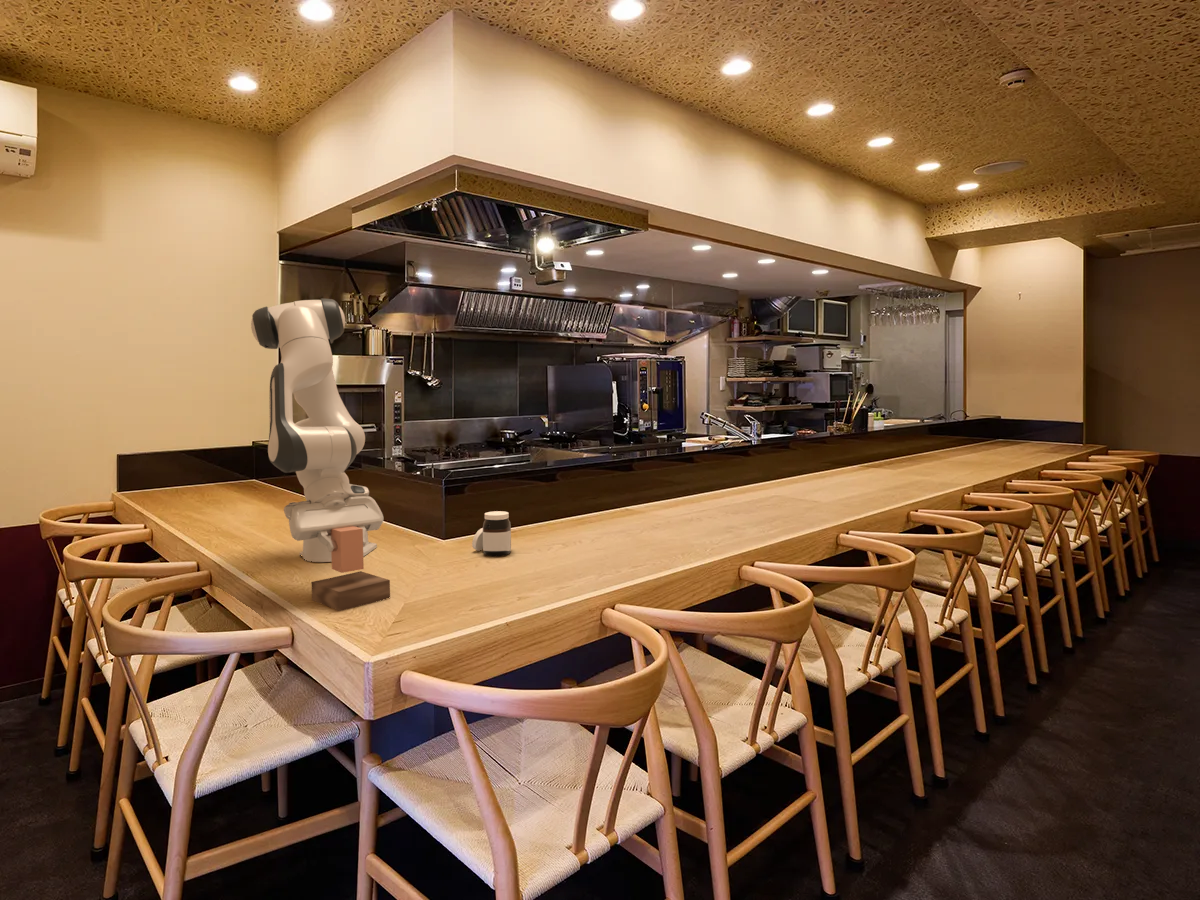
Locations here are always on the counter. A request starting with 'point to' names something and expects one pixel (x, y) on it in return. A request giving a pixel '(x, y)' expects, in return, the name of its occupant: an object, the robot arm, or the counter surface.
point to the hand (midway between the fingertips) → (348, 547)
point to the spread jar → (494, 534)
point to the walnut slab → (350, 590)
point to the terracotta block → (347, 549)
